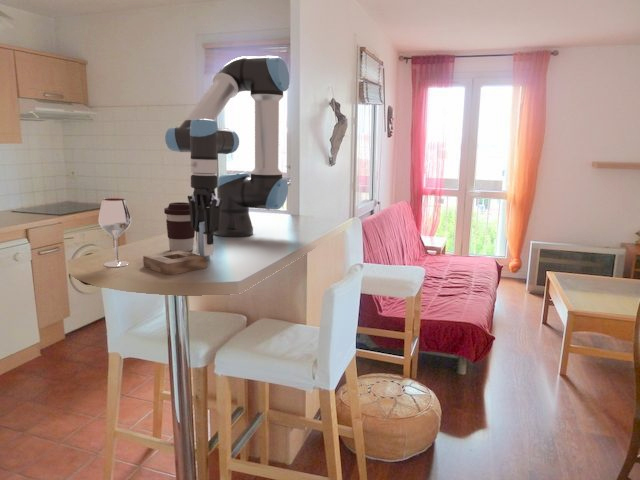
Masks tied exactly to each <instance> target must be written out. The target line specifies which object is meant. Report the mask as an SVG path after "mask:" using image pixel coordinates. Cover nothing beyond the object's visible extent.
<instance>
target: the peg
mask: <svg viewBox="0 0 640 480" xmlns="http://www.w3.org/2000/svg"><path fill="white" fill-rule="evenodd" d="M203 232H205V222H199V238H200V254H199V255H201V256H204V233H203ZM204 257H207V261H209V260H211V255H207V256H204Z"/></svg>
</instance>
